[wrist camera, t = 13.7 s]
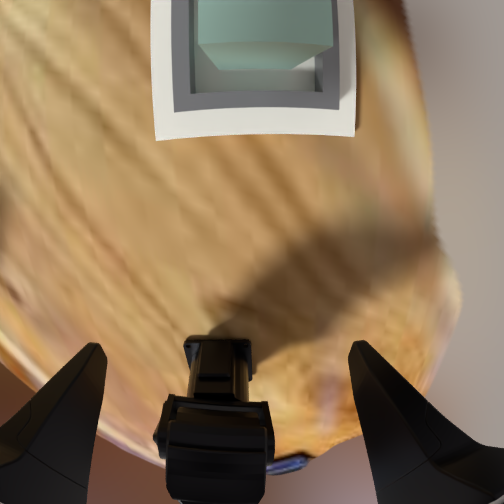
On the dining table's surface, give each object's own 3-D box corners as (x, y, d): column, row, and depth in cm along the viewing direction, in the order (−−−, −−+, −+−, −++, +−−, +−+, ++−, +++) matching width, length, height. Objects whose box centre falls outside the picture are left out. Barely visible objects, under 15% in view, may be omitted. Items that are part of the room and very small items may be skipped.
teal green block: (290, 69, 15) (333, 46, 8) (218, 70, 15) (198, 44, 8) (289, 8, 13) (326, -52, 5) (217, 9, 13) (199, -55, 5)
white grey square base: (350, 135, 18) (365, 141, 16) (159, 139, 18) (147, 145, 16) (346, -29, 12) (359, -43, 10) (155, -28, 12) (144, -43, 9)
